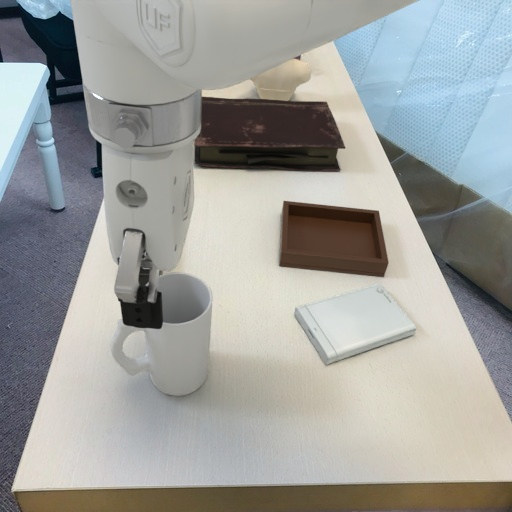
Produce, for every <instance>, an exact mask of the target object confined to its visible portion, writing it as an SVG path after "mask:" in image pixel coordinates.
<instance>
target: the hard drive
mask: <svg viewBox="0 0 512 512" xmlns="http://www.w3.org/2000/svg"><path fill="white" fill-rule="evenodd" d="M293 314H294V316H295V318H296V320H297V321H298V323H299V324H300V326H301V327H302V329H303V331H304V333H305V334H306V336H307V337H308V339H309V340H310V342H311V344H312V345H313V347H314V348H315V350H316V351H317V353H318V354H319V355H318V356H320V358H321V360H322V361H323V362H324V364H325V365H329V364H332V363H335V362H338V361H341V360H343V359H344V360H345V359H346V358H350V357H352V356H355V355H358V354H361V353H364V352H367V351H370V350H373V349H375V348H379V347H382V346H385V345H387V344H390V343H393V342H395V341H399V340H402V339H405V338H407V337H410V336H413V335H415V334H416V331H417V325H416V324H415V323H414V322H413V320H412V319H411V318H410V316H409V315H407V313H406V312H405V311H404V309H402V308H401V306H400V304H398V303H397V301H396V300H395V299H394V298H393V297H392V295H391V294H390V293H389V292H388V291H387V290H386V288H385V287H384V286H383V285H382V284H381V283H379V282H377V283H374V284H370V285H367V286H364V287H360V288H357V289H354V290H350V291H346V292H342V293H339V294H337V295H336V294H335V295H333V296H329V297H326V298H322V299H319V300H315V301H312V302H309V303H306V304H303V305H299V306H295V308H294V313H293Z"/></svg>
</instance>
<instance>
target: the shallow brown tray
mask: <svg viewBox="0 0 512 512" xmlns="http://www.w3.org/2000/svg"><path fill="white" fill-rule="evenodd" d="M278 261H279V262H278V266H279V267H284V268H285V267H286V268H295V269H303V270H314V271H315V270H316V271H323V272H333V273H340V274H341V273H343V274H350V275H351V274H352V275H361V276H372V277H379V278H384V277H385V276H386V272H387V269H388V266H389V258H388V253H387V247H386V242H385V237H384V231H383V225H382V221H381V215H380V210H375V209H367V208H357V207H347V206H338V205H328V204H318V203H310V202H309V203H308V202H300V201H289V200H283V201H282V208H281V217H280V238H279V259H278Z"/></svg>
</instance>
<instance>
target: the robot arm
mask: <svg viewBox="0 0 512 512" xmlns="http://www.w3.org/2000/svg"><path fill="white" fill-rule="evenodd" d="M69 1H70V7H71V14H72V20H73V26H74V34H75V40H76V47H77V48H76V49H77V53H78V60H79V67H80V73H81V79H82V80H81V81H82V89H83V97H84V103H85V111H86V116H87V122H88V129H89V132H90V134H91V136H92V137H93V138H94V139H95V141H97V142H98V143H100V144H101V168H102V169H101V170H102V171H101V174H102V188H103V202H104V204H103V205H104V214H105V223H106V224H105V225H106V232H107V239H108V241H107V242H108V246H109V251H110V255H111V258H112V260H113V262H114V263H115V264H116V265H117V270H116V271H117V272H116V277H115V282H114V288H113V290H114V291H113V292H114V294H115V296H116V297H117V301H118V302H119V305H120V313H121V319H122V320H123V324H124V325H126V326H133V327H136V328H151V329H161V328H162V324H163V310H162V292H159V291H157V290H158V281H159V271H163V272H168V273H171V272H172V271H174V270H175V269H176V268H177V267H178V265H179V264H180V260H181V258H182V254H183V250H184V246H185V243H186V239H187V236H188V231H189V227H190V223H191V219H192V215H193V211H194V204H195V176H194V175H195V174H194V149H193V141H195V139H196V138H197V136H198V135H199V133H200V130H201V107H202V97H203V91H217V90H223V89H228V88H230V87H234V86H236V85H239V84H241V83H243V82H246V81H248V80H251V79H250V78H253V77H255V76H257V75H259V74H261V73H264V72H266V71H268V70H270V69H272V68H275V67H277V66H279V65H281V64H282V63H284V62H286V61H289V60H291V59H293V58H295V57H297V56H300V55H301V56H302V55H305V54H306V53H308V52H311V51H313V50H315V49H318V48H320V47H322V46H325V45H327V44H331V43H332V42H334V41H336V40H338V39H340V38H343V37H345V36H347V35H349V34H351V33H353V32H356V31H357V30H359V29H362V28H364V27H366V26H367V25H371V24H372V23H374V22H376V21H378V20H380V19H383V18H384V17H387V16H389V15H391V14H394V13H396V12H397V11H400V10H402V9H404V8H406V7H408V6H410V5H413V4H415V3H417V2H419V1H420V0H69ZM144 249H146V252H147V253H148V255H149V257H150V258H151V260H150V259H142V255H143V250H144ZM140 268H149V269H150V275H149V284H148V286H144V285H139V282H138V277H139V271H140Z"/></svg>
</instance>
